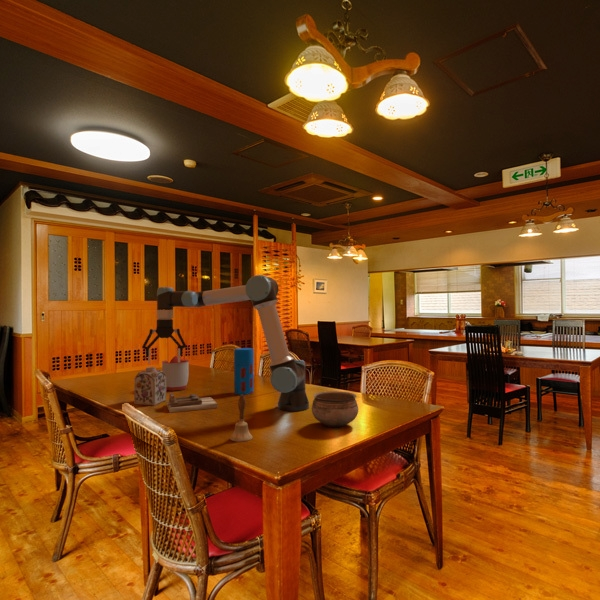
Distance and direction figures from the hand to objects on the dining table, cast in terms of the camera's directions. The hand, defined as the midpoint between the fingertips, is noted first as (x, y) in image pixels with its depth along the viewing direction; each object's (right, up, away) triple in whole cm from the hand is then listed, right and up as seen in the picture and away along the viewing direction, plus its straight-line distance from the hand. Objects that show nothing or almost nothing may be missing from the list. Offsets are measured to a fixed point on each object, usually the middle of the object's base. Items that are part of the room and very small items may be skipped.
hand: (164, 362), depth 193 cm
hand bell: (+44, -21, -46) cm, 67 cm away
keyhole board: (+13, -22, +2) cm, 25 cm away
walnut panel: (+10, -20, +1) cm, 22 cm away
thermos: (+34, -23, +34) cm, 53 cm away
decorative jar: (-11, -22, +12) cm, 28 cm away
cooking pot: (+80, -21, -31) cm, 88 cm away
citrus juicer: (-9, -23, +46) cm, 52 cm away
